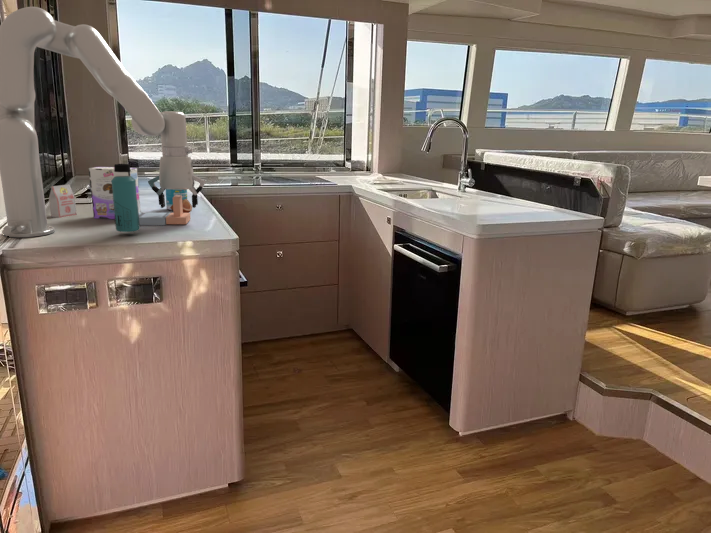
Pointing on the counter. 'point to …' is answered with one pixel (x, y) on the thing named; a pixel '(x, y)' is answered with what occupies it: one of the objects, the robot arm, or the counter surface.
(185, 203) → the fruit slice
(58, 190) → the gable top carton
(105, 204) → the candy box
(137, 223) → the beverage bottle
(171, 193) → the pill bottle
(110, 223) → the counter surface
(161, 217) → the flat grey block
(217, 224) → the counter surface
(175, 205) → the stub
